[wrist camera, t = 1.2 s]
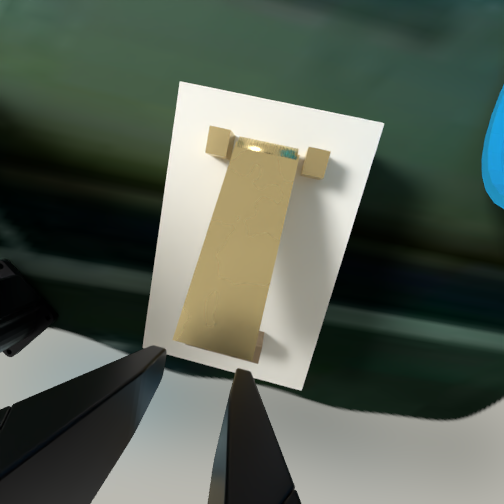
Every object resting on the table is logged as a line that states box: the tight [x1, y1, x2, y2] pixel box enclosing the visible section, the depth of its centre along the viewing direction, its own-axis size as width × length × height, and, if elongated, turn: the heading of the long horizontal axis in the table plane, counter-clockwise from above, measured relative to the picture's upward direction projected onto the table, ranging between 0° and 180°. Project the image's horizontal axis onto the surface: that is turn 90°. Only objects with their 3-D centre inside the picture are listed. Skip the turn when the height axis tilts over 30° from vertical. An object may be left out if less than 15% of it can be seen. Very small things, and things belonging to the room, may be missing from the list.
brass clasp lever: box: [172, 136, 300, 361], centre depth 11 cm, size 10×3×1 cm, turn 169°
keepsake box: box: [143, 81, 384, 391], centre depth 16 cm, size 15×10×7 cm
